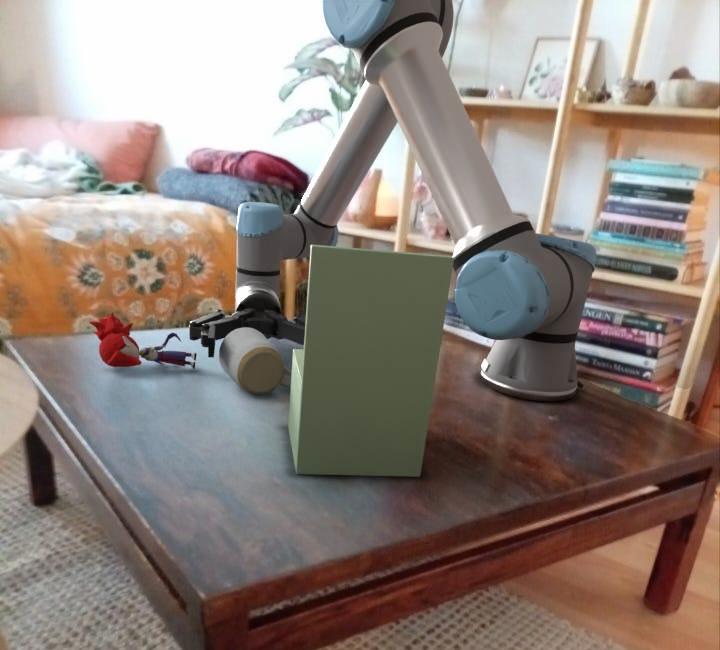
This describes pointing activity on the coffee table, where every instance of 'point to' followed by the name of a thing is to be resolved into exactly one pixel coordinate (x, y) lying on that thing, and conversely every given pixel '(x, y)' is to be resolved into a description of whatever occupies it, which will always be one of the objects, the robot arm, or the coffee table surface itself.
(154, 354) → the figurine
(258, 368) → the ceramic mug
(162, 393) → the coffee table surface
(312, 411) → the tall sage green prism
